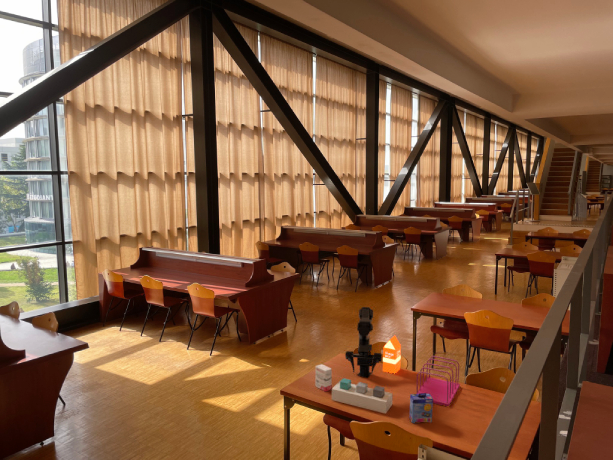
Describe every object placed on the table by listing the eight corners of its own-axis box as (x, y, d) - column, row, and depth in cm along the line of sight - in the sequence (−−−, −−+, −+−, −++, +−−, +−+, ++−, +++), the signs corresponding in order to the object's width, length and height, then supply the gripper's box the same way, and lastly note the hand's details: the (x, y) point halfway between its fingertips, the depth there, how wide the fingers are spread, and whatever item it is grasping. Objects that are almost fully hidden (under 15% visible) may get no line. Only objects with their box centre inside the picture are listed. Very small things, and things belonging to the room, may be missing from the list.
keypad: (339, 391, 256) (339, 381, 255) (392, 404, 243) (392, 393, 242) (331, 399, 247) (331, 388, 247) (385, 413, 234) (386, 402, 233)
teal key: (343, 385, 251) (343, 378, 251) (351, 387, 249) (351, 379, 249) (339, 388, 248) (339, 381, 247) (347, 390, 246) (347, 383, 245)
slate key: (359, 389, 247) (359, 381, 247) (367, 391, 245) (367, 383, 245) (356, 392, 243) (356, 385, 243) (364, 394, 241) (364, 387, 241)
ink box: (332, 389, 259) (332, 368, 257) (325, 392, 256) (325, 371, 254) (321, 383, 265) (321, 363, 264) (314, 386, 262) (314, 365, 261)
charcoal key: (376, 393, 243) (376, 385, 243) (384, 395, 241) (384, 387, 240) (373, 396, 239) (373, 389, 239) (381, 398, 237) (381, 391, 237)
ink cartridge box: (412, 423, 225) (413, 394, 223) (408, 417, 231) (409, 389, 228) (432, 422, 226) (433, 393, 224) (428, 416, 231) (429, 388, 229)
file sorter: (414, 399, 248) (415, 370, 246) (428, 379, 270) (429, 353, 268) (448, 407, 240) (450, 377, 238) (459, 387, 261) (461, 359, 259)
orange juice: (400, 368, 284) (401, 336, 281) (395, 374, 277) (395, 341, 274) (388, 365, 288) (388, 333, 285) (382, 371, 281) (383, 338, 278)
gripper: (345, 336, 251) (343, 366, 242) (381, 338, 248) (381, 368, 240) (346, 344, 260) (345, 373, 252) (381, 346, 257) (381, 375, 249)
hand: (362, 372), depth 248 cm, fingers open, 9 cm apart
